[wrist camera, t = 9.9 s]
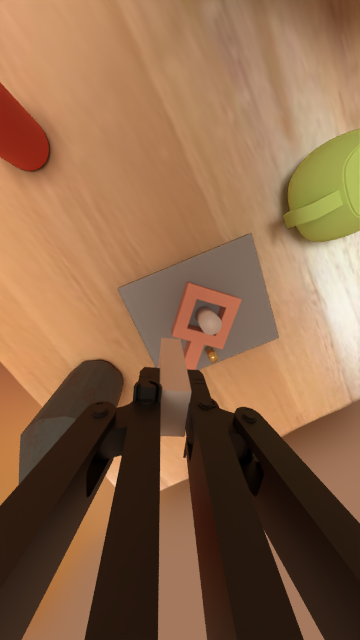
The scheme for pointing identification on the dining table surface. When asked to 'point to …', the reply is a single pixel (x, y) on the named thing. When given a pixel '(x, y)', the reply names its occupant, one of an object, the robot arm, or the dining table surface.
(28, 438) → the bottle
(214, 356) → the gold metal capsule
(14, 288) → the dining table surface
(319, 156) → the teapot
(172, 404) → the robot arm
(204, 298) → the square nut
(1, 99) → the beer can
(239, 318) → the board
